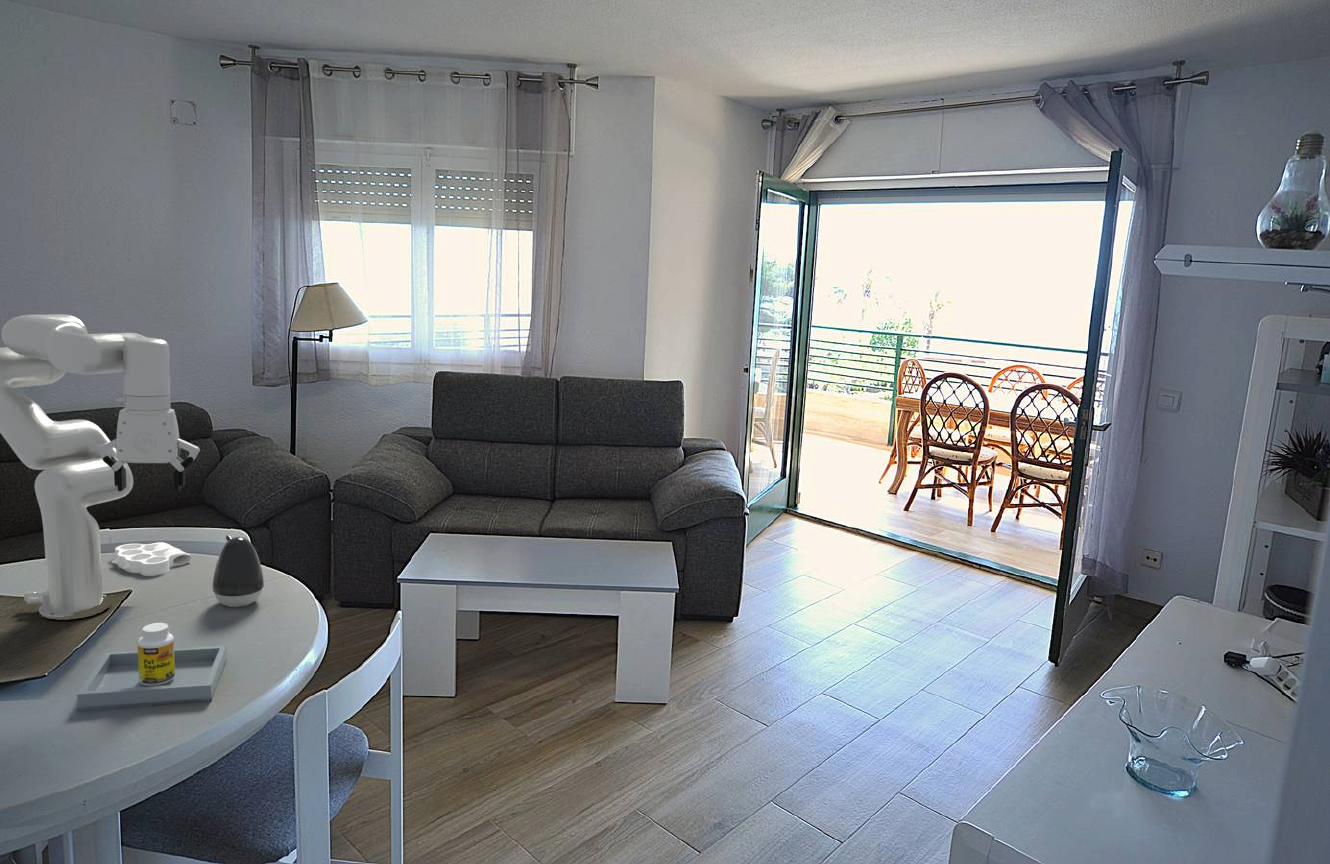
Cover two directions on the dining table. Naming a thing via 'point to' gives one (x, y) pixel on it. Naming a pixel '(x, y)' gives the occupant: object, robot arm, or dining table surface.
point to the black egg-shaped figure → (237, 573)
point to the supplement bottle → (156, 655)
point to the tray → (122, 688)
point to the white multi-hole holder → (149, 558)
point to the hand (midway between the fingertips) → (150, 489)
